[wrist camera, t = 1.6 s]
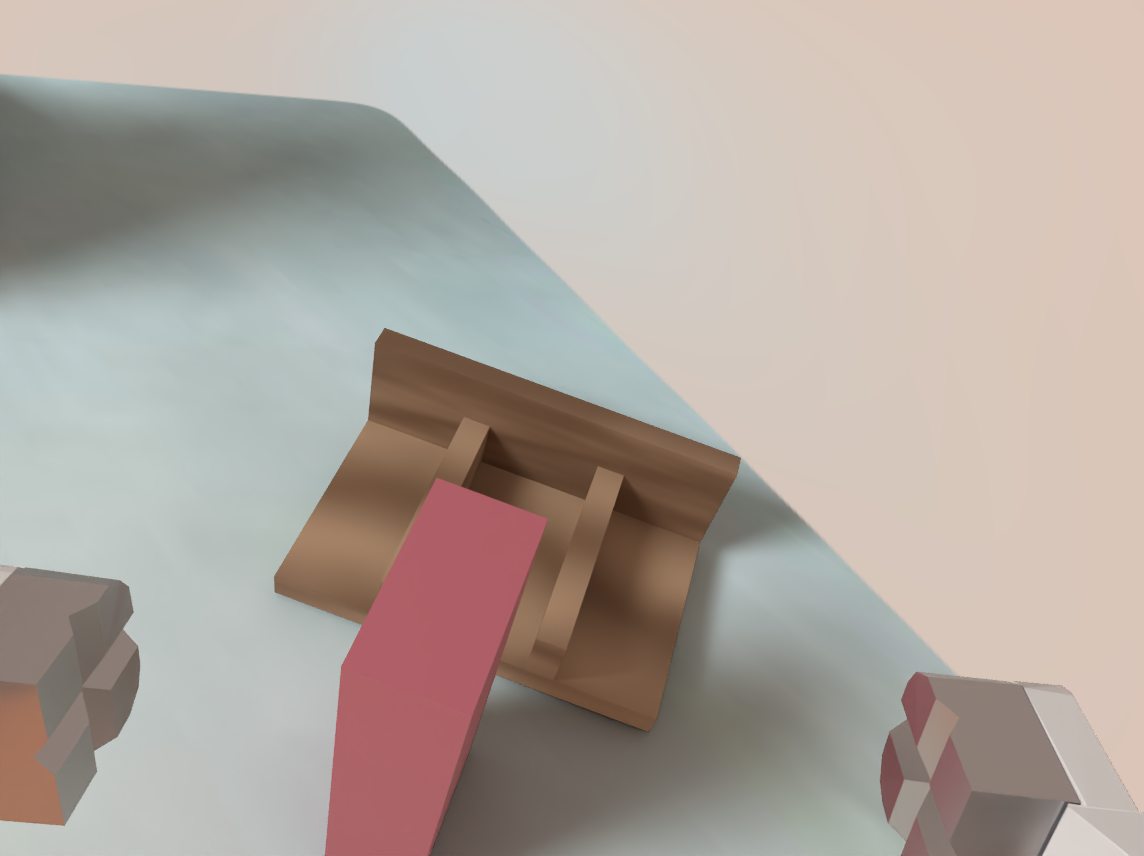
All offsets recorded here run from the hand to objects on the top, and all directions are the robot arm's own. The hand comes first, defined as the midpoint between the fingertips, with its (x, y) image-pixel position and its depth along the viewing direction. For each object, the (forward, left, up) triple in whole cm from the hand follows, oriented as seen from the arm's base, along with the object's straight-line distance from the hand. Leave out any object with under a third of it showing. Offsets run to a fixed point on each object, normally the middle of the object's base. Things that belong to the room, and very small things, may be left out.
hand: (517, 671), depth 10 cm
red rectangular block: (-8, +3, -27) cm, 28 cm away
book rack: (-16, +10, -27) cm, 33 cm away
